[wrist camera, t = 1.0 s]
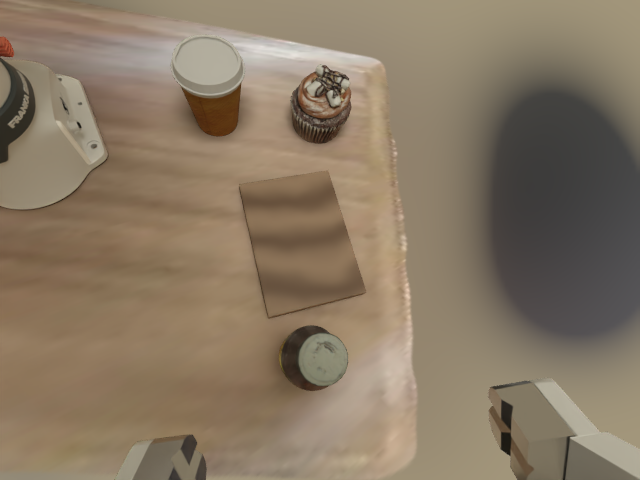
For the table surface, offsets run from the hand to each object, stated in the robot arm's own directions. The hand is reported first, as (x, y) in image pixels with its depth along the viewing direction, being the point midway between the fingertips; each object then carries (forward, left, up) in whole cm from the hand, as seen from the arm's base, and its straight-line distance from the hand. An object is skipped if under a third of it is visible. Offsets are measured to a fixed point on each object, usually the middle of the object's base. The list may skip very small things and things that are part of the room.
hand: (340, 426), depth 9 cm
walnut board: (-17, +7, -37) cm, 42 cm away
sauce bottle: (-1, +3, -37) cm, 37 cm away
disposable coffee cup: (-40, -1, -37) cm, 55 cm away
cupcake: (-37, +15, -37) cm, 55 cm away
